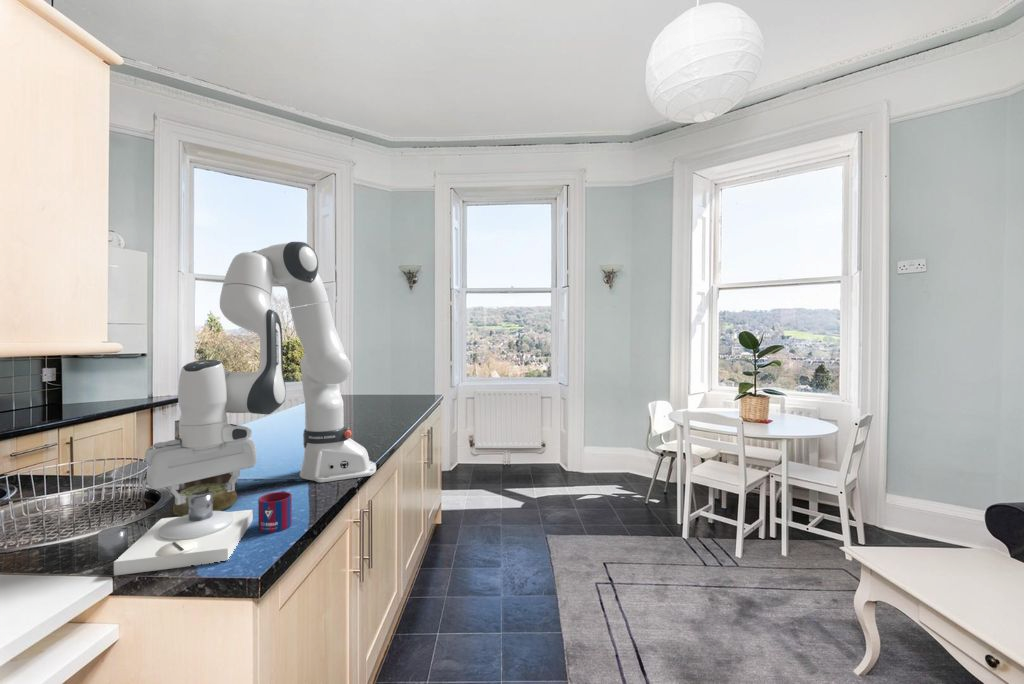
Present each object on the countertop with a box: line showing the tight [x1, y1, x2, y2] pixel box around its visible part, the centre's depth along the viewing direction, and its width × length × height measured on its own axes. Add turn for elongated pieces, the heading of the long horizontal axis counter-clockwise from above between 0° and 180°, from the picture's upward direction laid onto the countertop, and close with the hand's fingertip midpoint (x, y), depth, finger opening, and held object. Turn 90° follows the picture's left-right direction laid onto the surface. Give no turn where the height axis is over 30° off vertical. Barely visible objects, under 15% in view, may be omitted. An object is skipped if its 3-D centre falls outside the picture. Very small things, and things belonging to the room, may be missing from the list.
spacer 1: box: [97, 525, 129, 562], centre depth 90 cm, size 4×4×5 cm
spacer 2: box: [188, 491, 213, 521], centre depth 100 cm, size 4×4×5 cm
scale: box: [113, 509, 254, 576], centre depth 94 cm, size 18×20×3 cm
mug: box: [257, 490, 293, 534], centre depth 105 cm, size 7×10×7 cm
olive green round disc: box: [172, 483, 238, 517], centre depth 114 cm, size 14×13×5 cm
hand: (206, 497), depth 100 cm, fingers open, 8 cm apart
